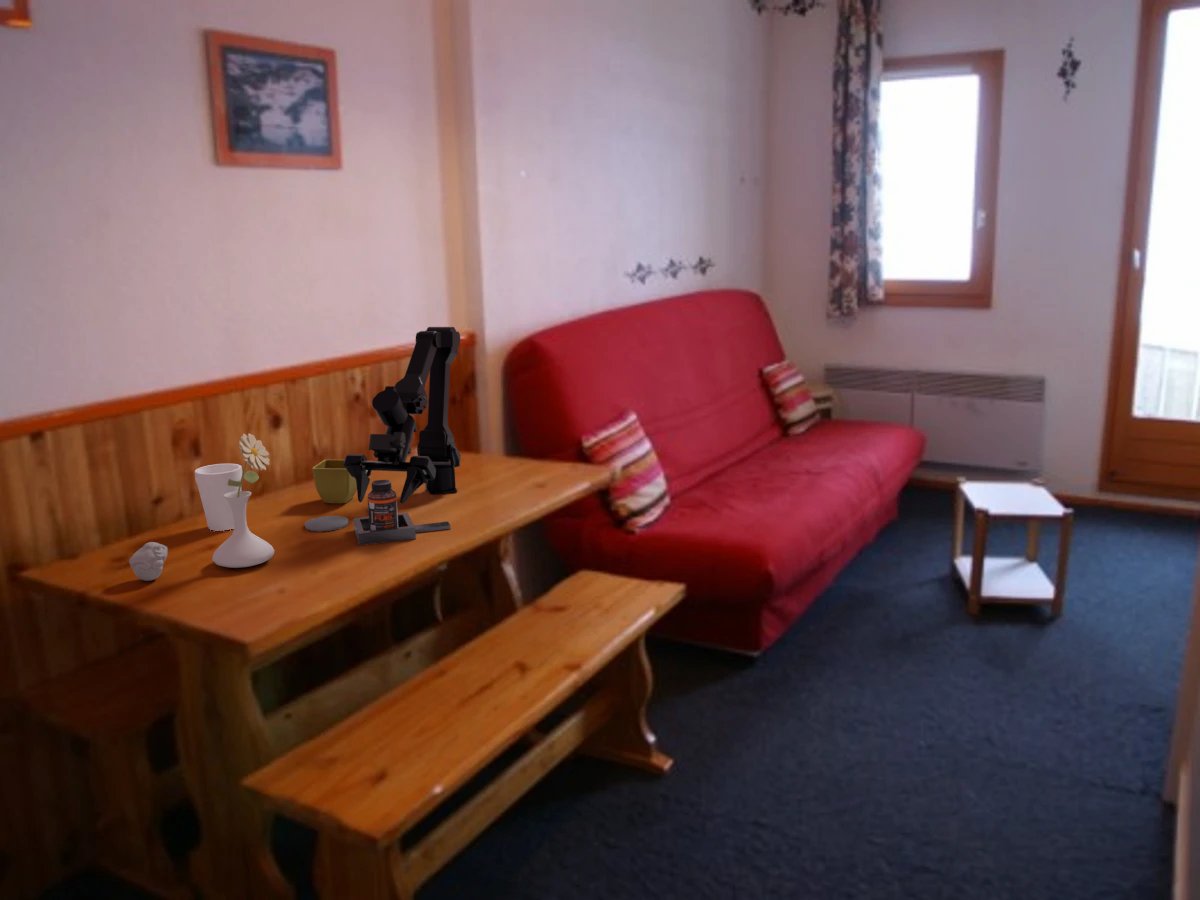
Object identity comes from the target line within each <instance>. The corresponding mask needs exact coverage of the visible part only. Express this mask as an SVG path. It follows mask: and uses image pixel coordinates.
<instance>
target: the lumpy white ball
mask: <svg viewBox="0 0 1200 900" xmlns="http://www.w3.org/2000/svg"><path fill="white" fill-rule="evenodd" d="M168 552H169V551H168V546H167V545H164V544H161V543H159V542H156V541H155V542H154V541H150V542H147V543H145V544H143V546H141V548H139V549H138V550H137V551H136V552H135V553H134V554H132V555H131V557H130V558H129V562H128V563H129V565H130V568H131V569H132V570H133V573H134V575H135V576H136V577H137V578H138V579H139V580H142V581H145V582H149V581H154V580H156V579H158V578H159V576H161V574H162V572H163V570H164V564H165V562H166V560H167V558H168Z"/></svg>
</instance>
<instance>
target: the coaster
mask: <svg viewBox="0 0 1200 900" xmlns="http://www.w3.org/2000/svg"><path fill="white" fill-rule="evenodd" d="M348 525H349V519H348V518H347V517H345V516H340V515H324V516H323V515H322V516H319V517H318V516H317V517H314V518H312V519H308V520H307V521H305V523H304V527H305V530H307V531H309V530H310V532H314V531H317V532H316V533H323V532H322V531H327V532H333V531H332V530H334V531H338V530H341V529H340V528H342V529H344V528H346V527H348ZM345 526H346V527H345ZM343 527H344V528H343ZM337 529H338V530H337Z"/></svg>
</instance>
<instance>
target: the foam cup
mask: <svg viewBox="0 0 1200 900" xmlns="http://www.w3.org/2000/svg"><path fill="white" fill-rule="evenodd" d="M242 473H243V468H242V465H240V464H237V463H216V464H210V465H205V466H200V467H198V468H196V469H195V470H194V478H195V480H194V481H195V483H196V485H197V488H198V492H199V493H198V494H199V496H200V499H201V504H202V507H203V511H204V515H205V520H206V523H207V526H208V527H207V528H208V530H209V529H210V530H209V531H211V530H215V531H219V530H220V531H222V530H223V532H225V531H224V530H229V529H230V531H232V530H231V529H234V517H233V512H232V509H231V506H230V504H229V502H228V501H227V500H226V499H225V498H224V495H225V494H226V493H229V492H234V491H238V489H239V486H238V487H236V486H229V485H228V480H229V479H231V480H233V481H237V482H240V481H241V477H242ZM240 491H242V488H241V489H240ZM215 531H214V532H215Z"/></svg>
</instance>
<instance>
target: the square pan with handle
mask: <svg viewBox="0 0 1200 900" xmlns="http://www.w3.org/2000/svg"><path fill="white" fill-rule="evenodd" d="M352 519H353V529H354V530H355V531H354V532H355V533H354V534H355V537H356V540H357V544H358V543H359V544H358V546H367V545H366V544H368V545H375V544H374V543H377V544H383V542H385V543H391V542H392V543H395V542H400V541H401V542H403V541H410V540H416V539H417V535H416V534H417V533H419V534H420V533H427V532H436V531H445V530H451V524H450V522H449V521H441V522H430V523H422V524H414V522H413V521H412V519H411V517H410V515H409V513H408V512H399V513H398V528H389V529H380V530H371V531H370V530H367V529H369V516H363V517H353V518H352Z"/></svg>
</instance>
